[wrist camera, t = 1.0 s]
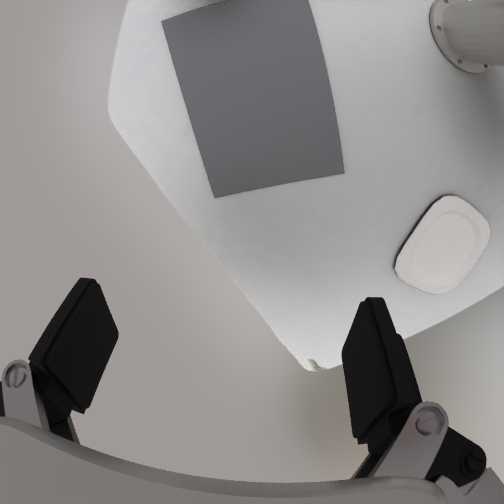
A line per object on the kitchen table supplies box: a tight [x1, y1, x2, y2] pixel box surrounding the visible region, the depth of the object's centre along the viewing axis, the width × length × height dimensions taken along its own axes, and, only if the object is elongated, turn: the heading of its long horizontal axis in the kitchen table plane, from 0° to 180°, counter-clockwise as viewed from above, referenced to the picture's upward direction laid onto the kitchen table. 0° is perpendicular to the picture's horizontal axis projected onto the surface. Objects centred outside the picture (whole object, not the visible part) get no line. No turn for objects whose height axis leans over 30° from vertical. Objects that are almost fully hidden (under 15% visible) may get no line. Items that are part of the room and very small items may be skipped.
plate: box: [394, 195, 491, 295], centre depth 42 cm, size 18×18×2 cm
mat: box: [161, 0, 344, 198], centre depth 31 cm, size 18×26×1 cm
